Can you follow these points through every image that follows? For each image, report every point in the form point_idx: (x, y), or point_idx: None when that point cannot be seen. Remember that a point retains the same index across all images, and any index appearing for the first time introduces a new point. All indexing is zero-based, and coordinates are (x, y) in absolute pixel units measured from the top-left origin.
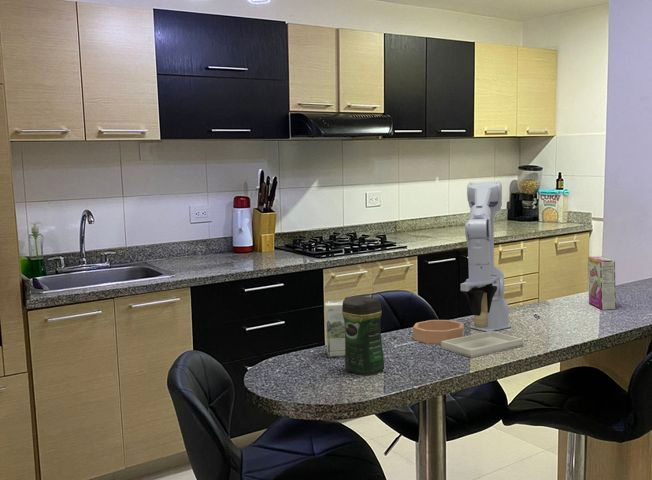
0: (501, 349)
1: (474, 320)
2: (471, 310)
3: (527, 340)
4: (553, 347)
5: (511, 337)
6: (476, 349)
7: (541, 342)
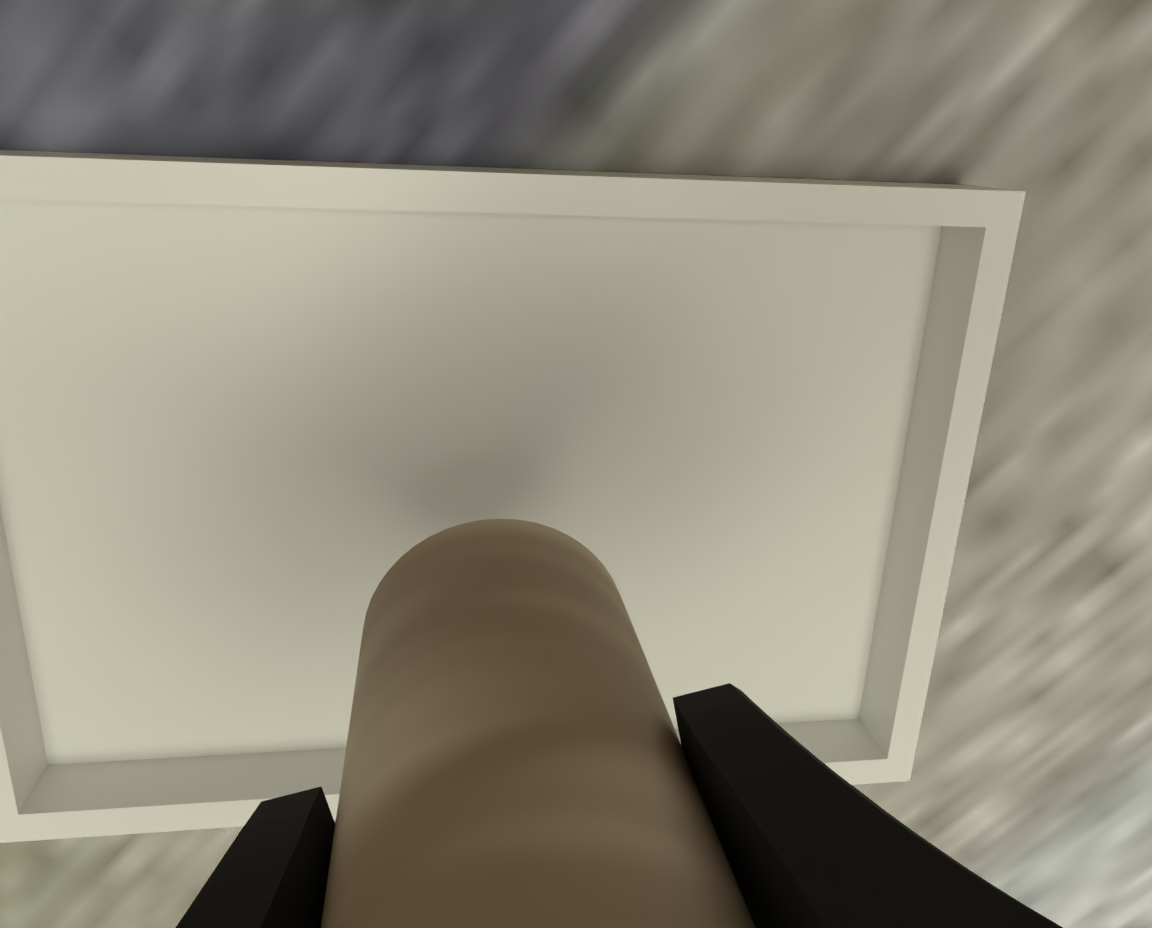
0: None
1: (357, 678)
2: (203, 893)
3: (1105, 579)
4: None
5: (905, 626)
6: (95, 833)
7: (1113, 720)
